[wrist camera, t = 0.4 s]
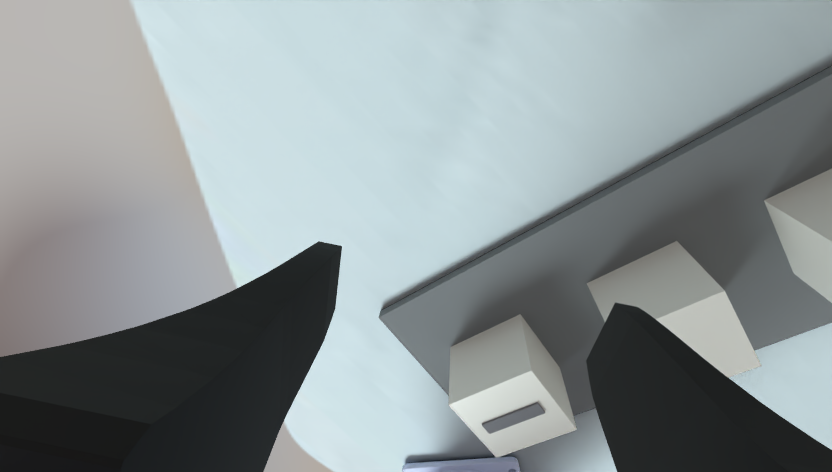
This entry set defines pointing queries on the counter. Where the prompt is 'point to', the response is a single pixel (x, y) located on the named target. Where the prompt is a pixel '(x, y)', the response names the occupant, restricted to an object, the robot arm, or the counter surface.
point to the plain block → (681, 305)
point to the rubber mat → (645, 245)
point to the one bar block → (508, 388)
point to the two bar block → (807, 230)
